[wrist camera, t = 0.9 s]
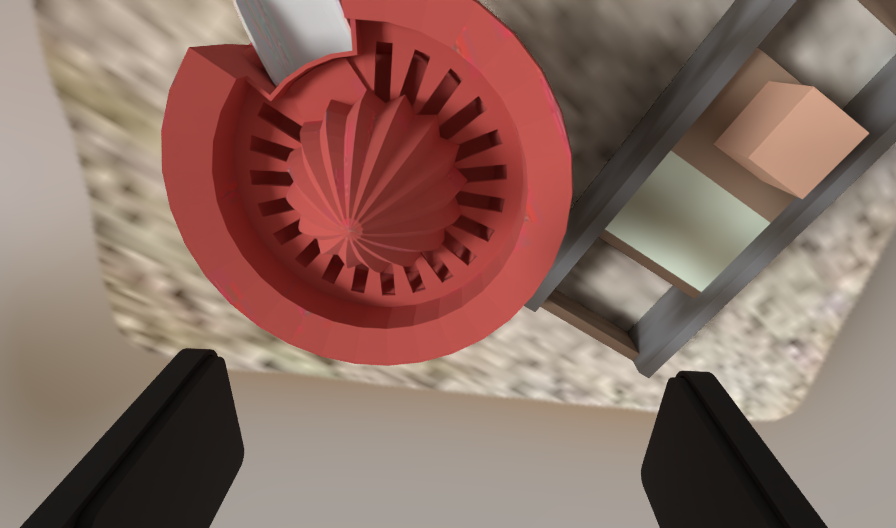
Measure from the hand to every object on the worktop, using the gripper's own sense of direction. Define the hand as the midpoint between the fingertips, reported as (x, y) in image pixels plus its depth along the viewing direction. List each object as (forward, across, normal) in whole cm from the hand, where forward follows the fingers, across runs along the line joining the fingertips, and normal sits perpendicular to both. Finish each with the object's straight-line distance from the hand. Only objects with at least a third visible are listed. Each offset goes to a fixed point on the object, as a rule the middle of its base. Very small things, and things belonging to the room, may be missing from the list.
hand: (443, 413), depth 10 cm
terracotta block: (+23, -20, -2) cm, 31 cm away
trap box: (+26, -18, +1) cm, 32 cm away
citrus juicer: (+26, +4, -2) cm, 27 cm away
